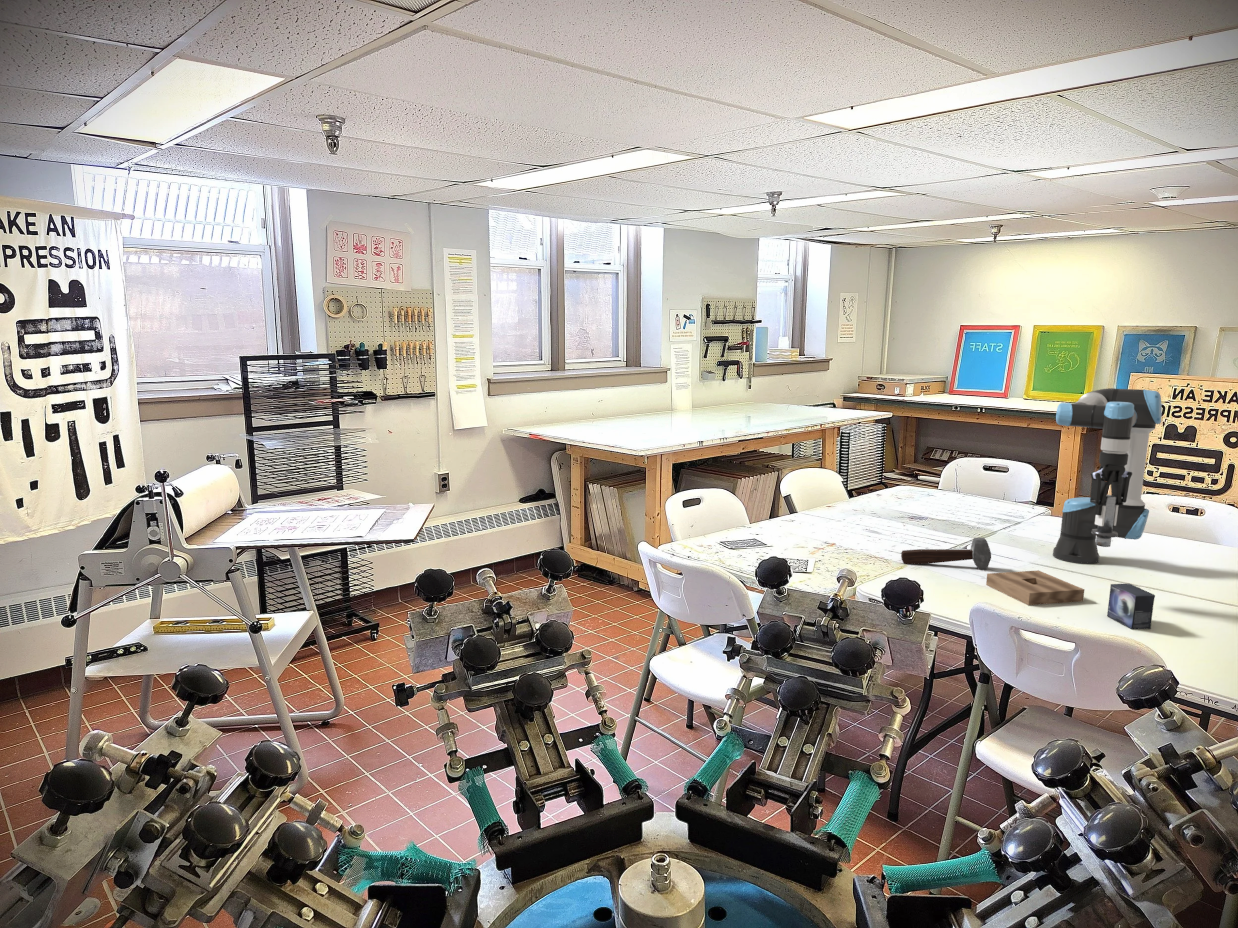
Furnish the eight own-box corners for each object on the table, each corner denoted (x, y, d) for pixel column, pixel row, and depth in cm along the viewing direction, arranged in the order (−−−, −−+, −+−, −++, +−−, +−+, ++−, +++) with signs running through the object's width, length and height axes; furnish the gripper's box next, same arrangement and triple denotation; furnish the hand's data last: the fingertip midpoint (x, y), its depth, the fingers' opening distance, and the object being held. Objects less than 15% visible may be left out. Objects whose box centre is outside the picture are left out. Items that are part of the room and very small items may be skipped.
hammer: (903, 574, 284) (991, 570, 277) (901, 544, 282) (990, 539, 275) (901, 570, 288) (988, 566, 281) (899, 541, 287) (987, 536, 280)
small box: (1104, 616, 233) (1109, 583, 232) (1125, 615, 234) (1129, 582, 232) (1130, 629, 223) (1135, 595, 221) (1151, 629, 224) (1156, 594, 222)
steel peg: (1103, 541, 249) (1109, 493, 247) (1121, 547, 243) (1127, 497, 240) (1084, 542, 248) (1090, 494, 245) (1102, 548, 241) (1108, 498, 238)
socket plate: (1037, 581, 265) (1038, 570, 265) (1083, 601, 246) (1084, 589, 245) (986, 584, 261) (987, 573, 260) (1028, 605, 242) (1029, 593, 241)
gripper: (1126, 449, 245) (1117, 520, 250) (1081, 450, 242) (1073, 523, 246) (1147, 453, 238) (1137, 526, 242) (1101, 454, 235) (1092, 529, 239)
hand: (1105, 524), depth 244 cm, fingers closed on steel peg, 4 cm apart
